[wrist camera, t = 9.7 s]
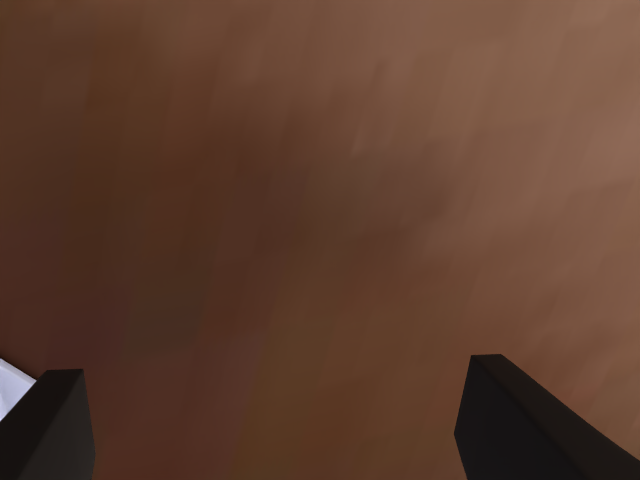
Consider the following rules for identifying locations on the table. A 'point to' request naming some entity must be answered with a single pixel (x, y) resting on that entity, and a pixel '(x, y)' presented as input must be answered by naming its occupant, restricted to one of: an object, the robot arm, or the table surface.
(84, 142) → the table surface
